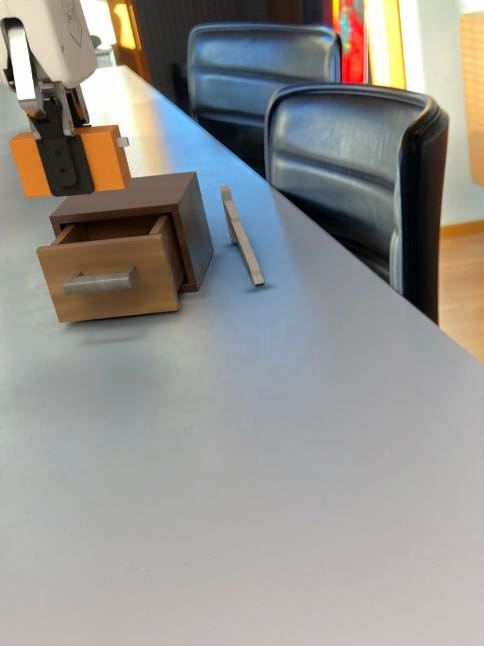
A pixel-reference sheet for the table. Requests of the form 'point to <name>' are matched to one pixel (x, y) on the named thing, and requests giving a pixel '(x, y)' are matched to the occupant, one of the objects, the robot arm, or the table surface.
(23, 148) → the orange brick with nub
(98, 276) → the drawer
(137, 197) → the cabinet
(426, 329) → the table surface
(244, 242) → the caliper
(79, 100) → the robot arm
